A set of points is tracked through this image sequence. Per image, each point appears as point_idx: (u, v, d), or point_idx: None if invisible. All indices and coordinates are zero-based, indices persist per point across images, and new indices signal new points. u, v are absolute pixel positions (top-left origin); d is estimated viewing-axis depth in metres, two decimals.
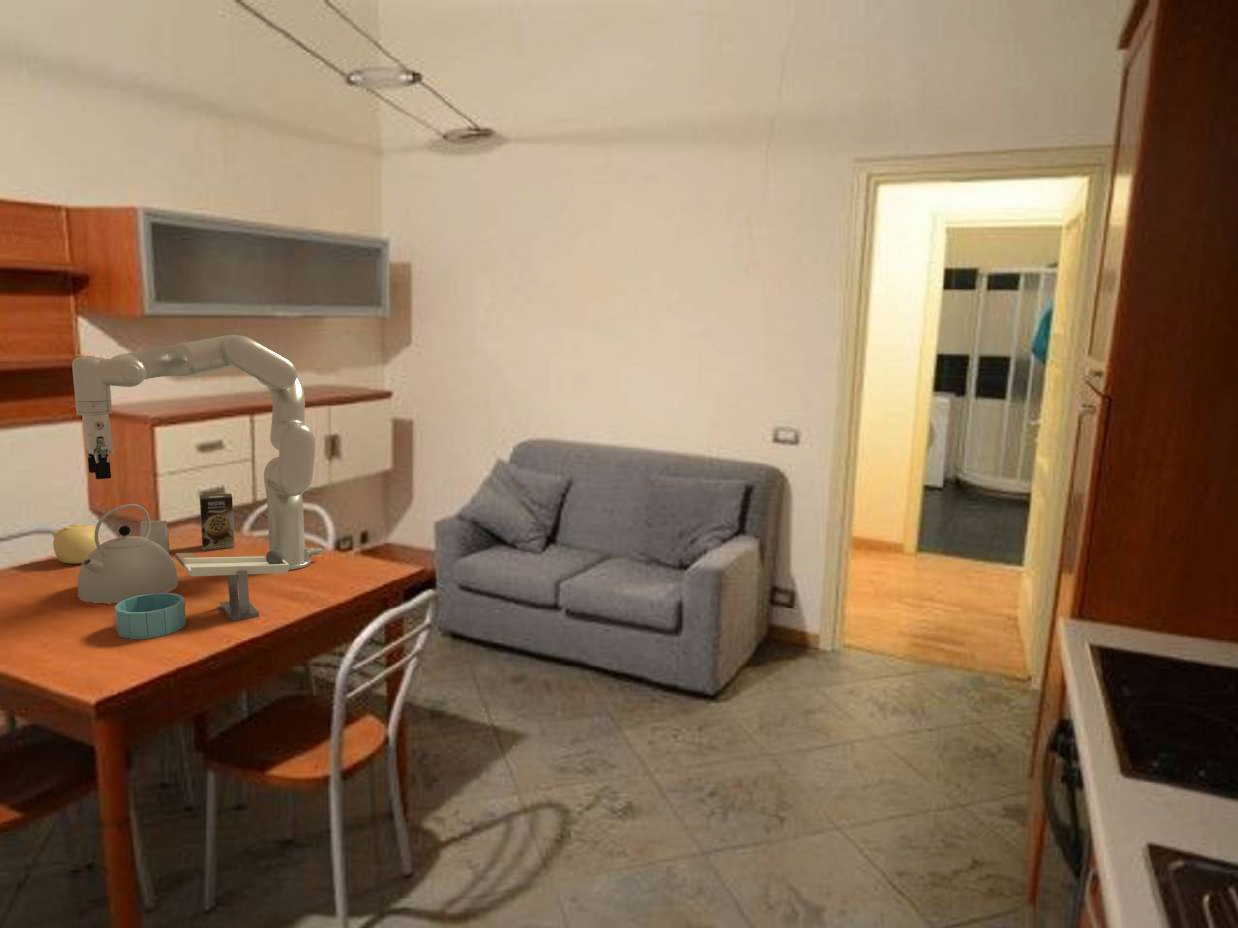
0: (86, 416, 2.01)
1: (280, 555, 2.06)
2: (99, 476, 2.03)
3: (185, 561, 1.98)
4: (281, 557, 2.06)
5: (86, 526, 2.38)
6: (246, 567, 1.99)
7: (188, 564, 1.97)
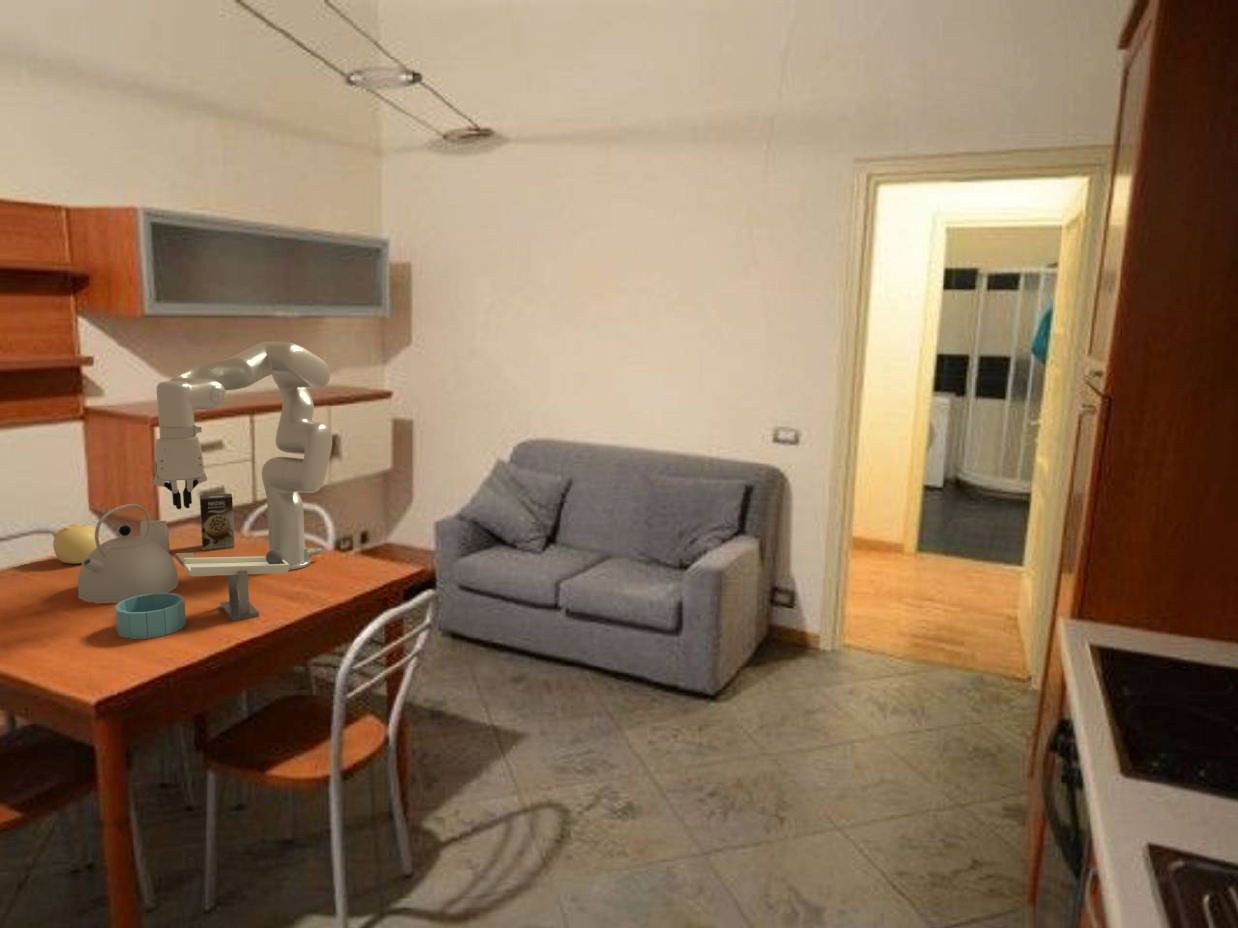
0: (194, 440, 1.99)
1: (280, 555, 2.06)
2: (188, 504, 2.02)
3: (185, 561, 1.98)
4: (281, 557, 2.06)
5: (86, 526, 2.38)
6: (246, 567, 1.99)
7: (188, 564, 1.97)
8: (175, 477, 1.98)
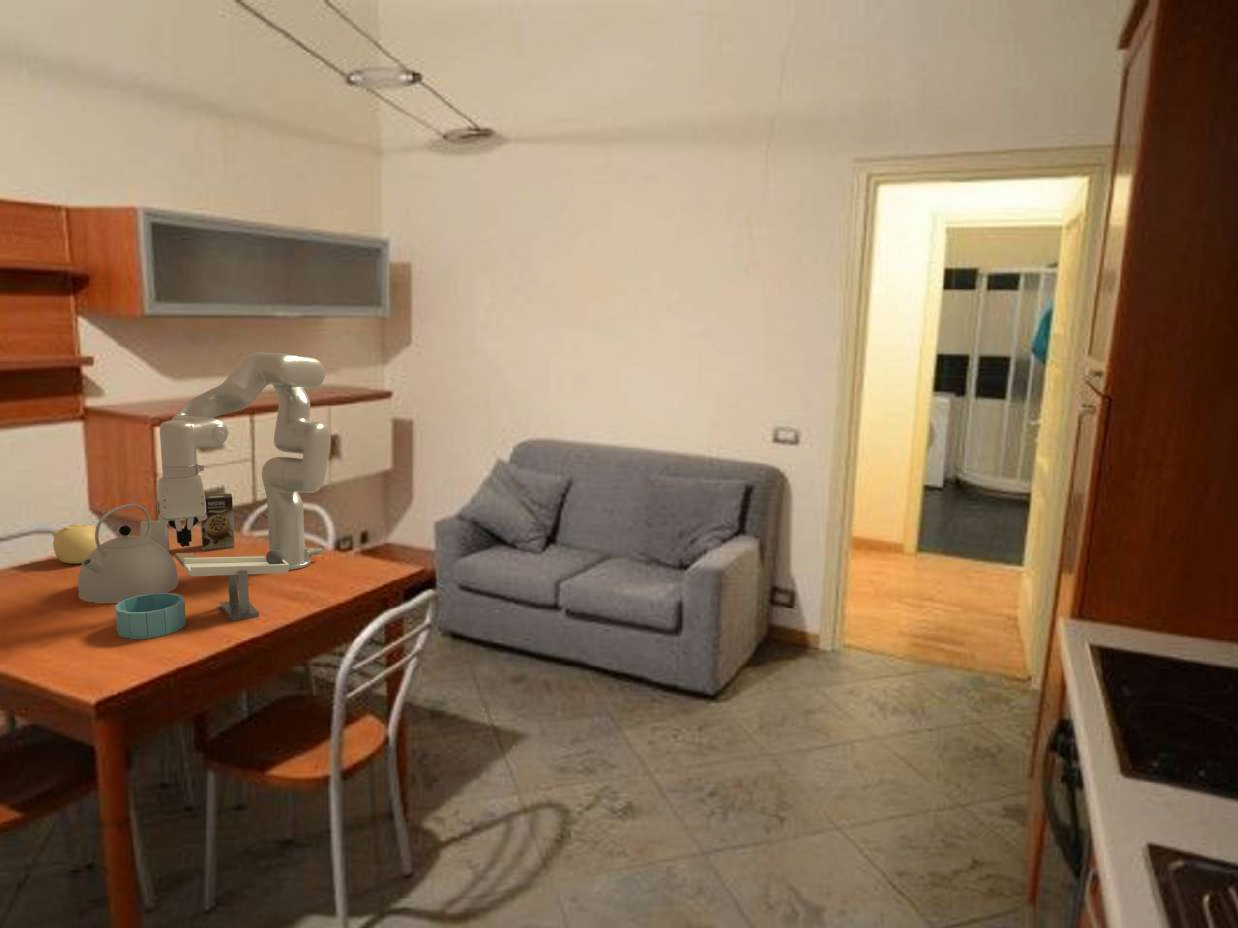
0: (196, 479, 2.01)
1: (280, 555, 2.06)
2: (188, 542, 2.03)
3: (185, 561, 1.98)
4: (281, 557, 2.06)
5: (86, 526, 2.38)
6: (246, 567, 1.99)
7: (188, 564, 1.97)
8: (177, 516, 2.00)
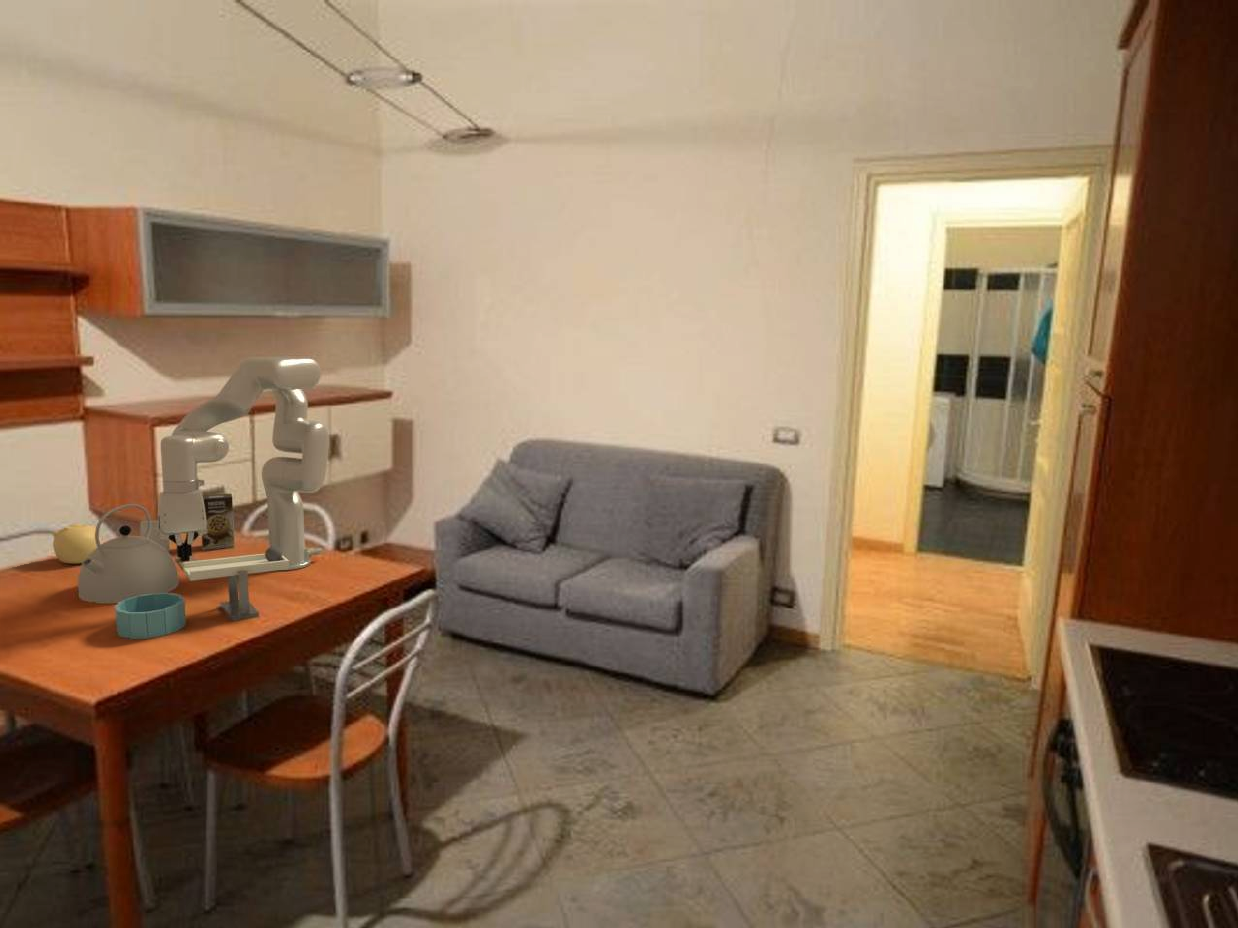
0: (196, 493, 2.02)
1: (279, 552, 2.06)
2: (188, 557, 2.04)
3: (185, 565, 1.98)
4: (280, 553, 2.06)
5: (86, 526, 2.38)
6: (245, 567, 1.99)
7: (188, 568, 1.97)
8: (178, 530, 2.00)
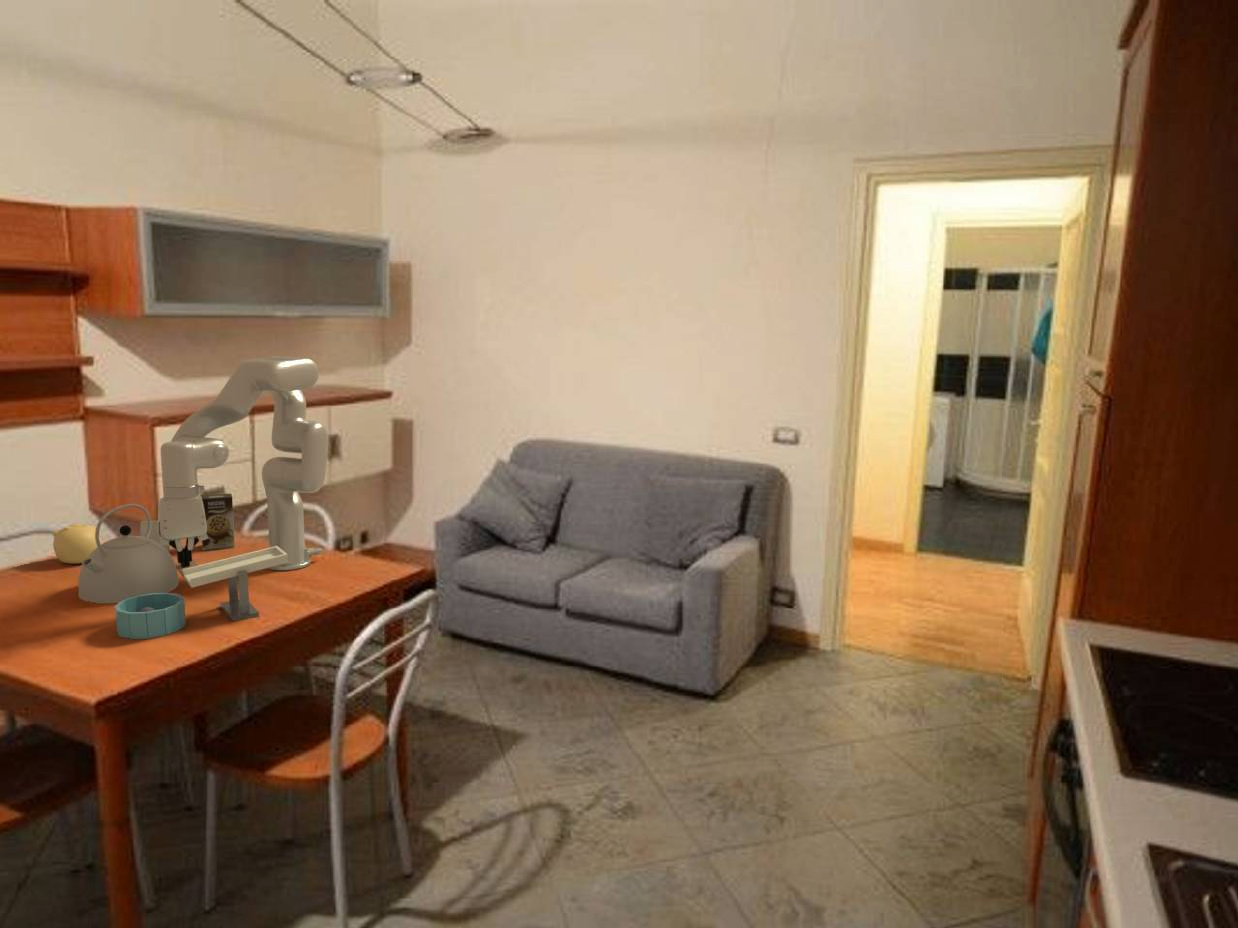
0: (196, 499, 2.02)
1: None
2: None
3: (185, 572, 1.98)
4: None
5: (86, 526, 2.38)
6: (244, 566, 1.98)
7: (188, 574, 1.98)
8: (178, 536, 2.00)
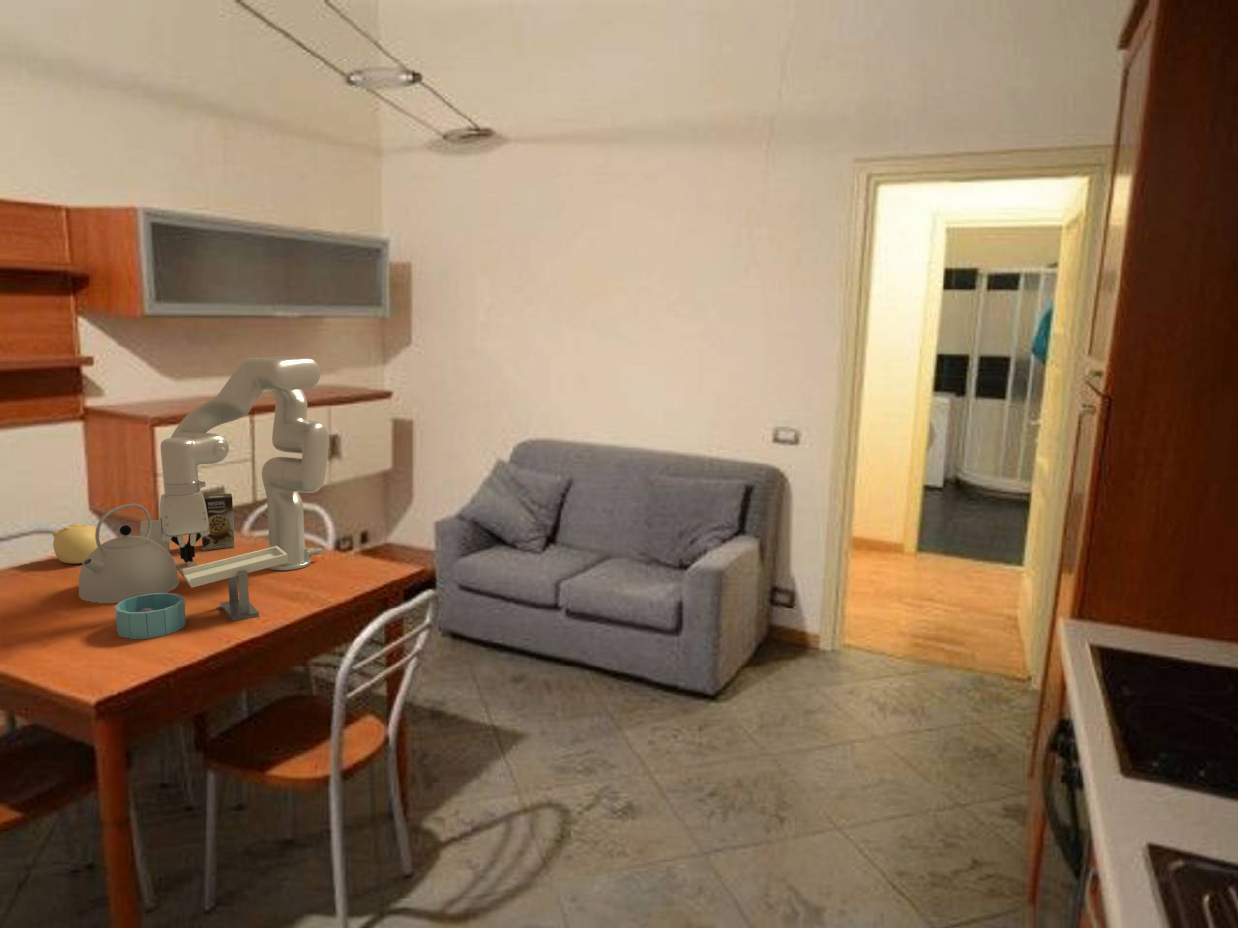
0: (198, 495, 2.02)
1: None
2: None
3: (185, 572, 1.98)
4: None
5: (86, 526, 2.38)
6: (244, 566, 1.98)
7: (188, 574, 1.98)
8: (180, 532, 2.01)
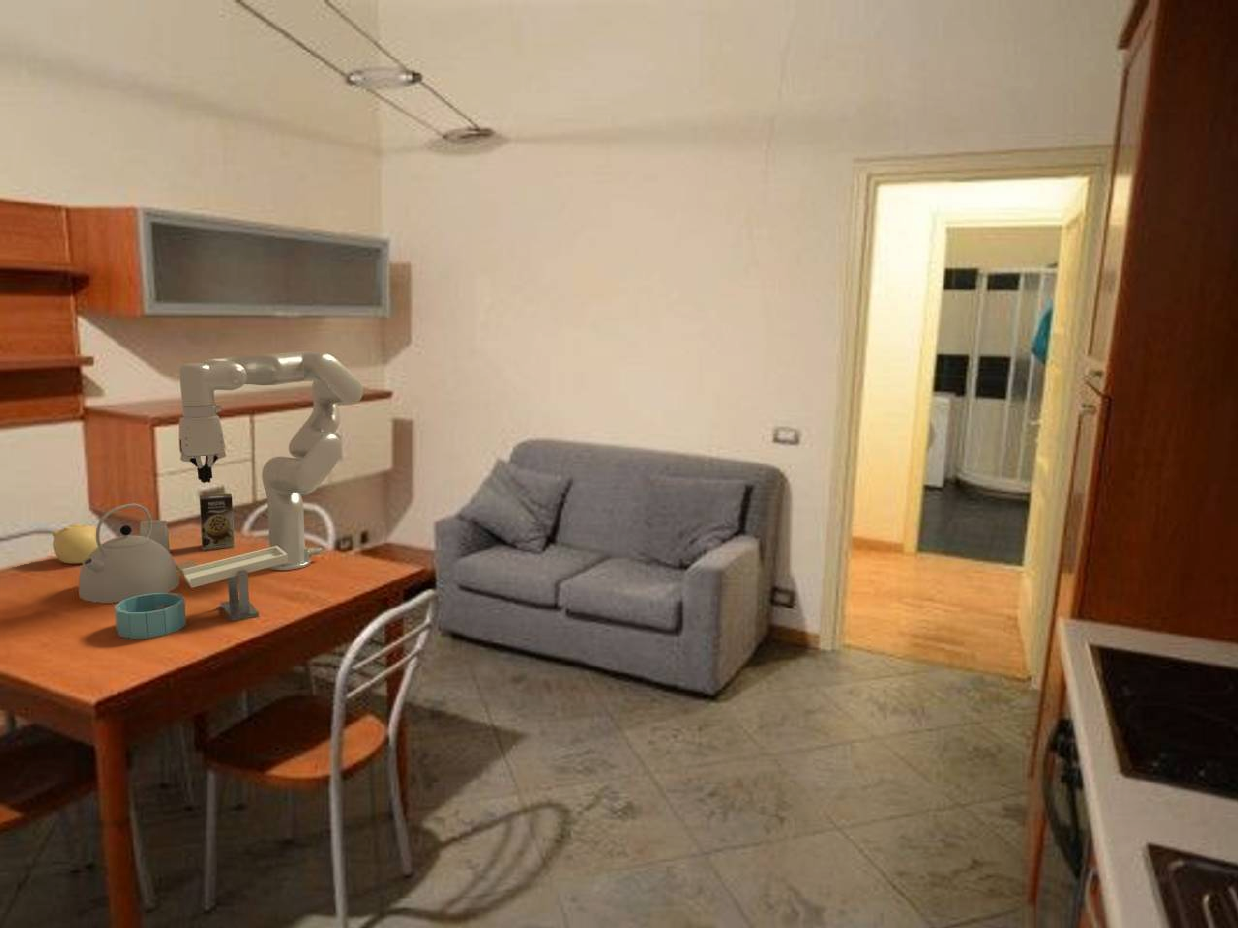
0: (214, 418, 2.13)
1: None
2: None
3: (185, 572, 1.98)
4: None
5: (86, 526, 2.38)
6: (244, 566, 1.98)
7: (188, 574, 1.98)
8: (198, 453, 2.12)
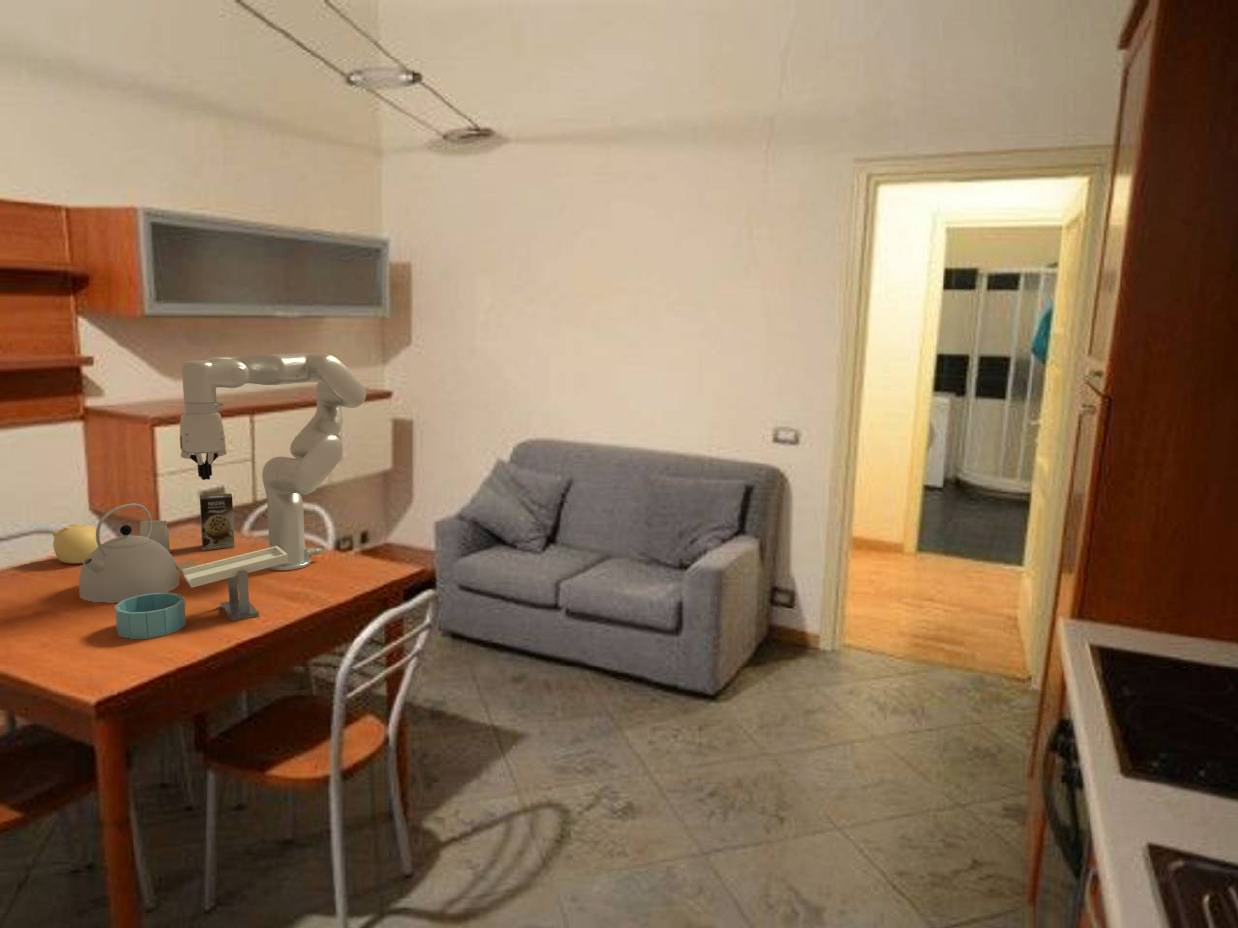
0: (216, 416, 2.13)
1: None
2: None
3: (185, 572, 1.98)
4: None
5: (86, 526, 2.38)
6: (244, 566, 1.98)
7: (188, 574, 1.98)
8: (199, 450, 2.12)
